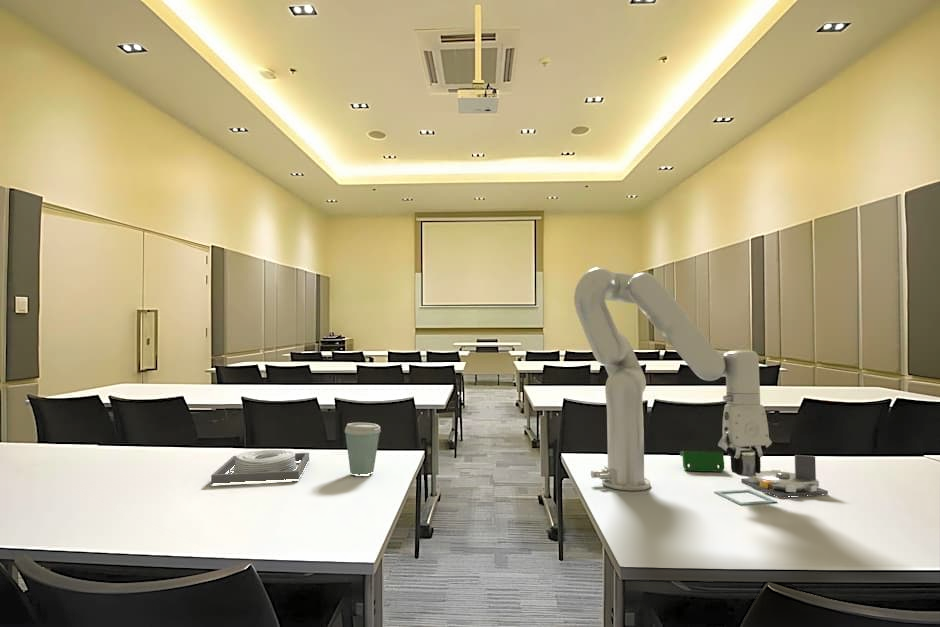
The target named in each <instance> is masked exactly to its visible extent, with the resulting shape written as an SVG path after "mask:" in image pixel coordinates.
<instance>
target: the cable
mask: <svg viewBox="0 0 940 627" xmlns="http://www.w3.org/2000/svg"><path fill="white" fill-rule="evenodd" d="M295 453H296V452H294V451H290V450H282V449H263V450H252V451H244V452H240V453H237V455H235V456H236V458H235V466H234V468H233V469H232V470H231V471H234V473H253V472H273V471H293V470H294V469H296V467H297V463H296V462H295ZM229 471H230V470H229ZM231 473H232V472H229V473H228V474H231Z"/></svg>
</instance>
